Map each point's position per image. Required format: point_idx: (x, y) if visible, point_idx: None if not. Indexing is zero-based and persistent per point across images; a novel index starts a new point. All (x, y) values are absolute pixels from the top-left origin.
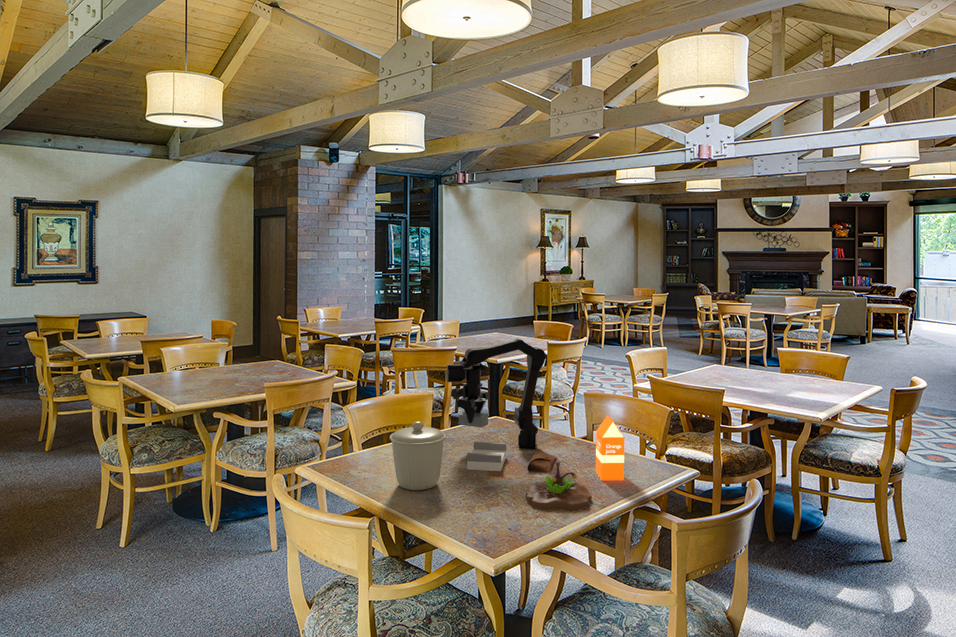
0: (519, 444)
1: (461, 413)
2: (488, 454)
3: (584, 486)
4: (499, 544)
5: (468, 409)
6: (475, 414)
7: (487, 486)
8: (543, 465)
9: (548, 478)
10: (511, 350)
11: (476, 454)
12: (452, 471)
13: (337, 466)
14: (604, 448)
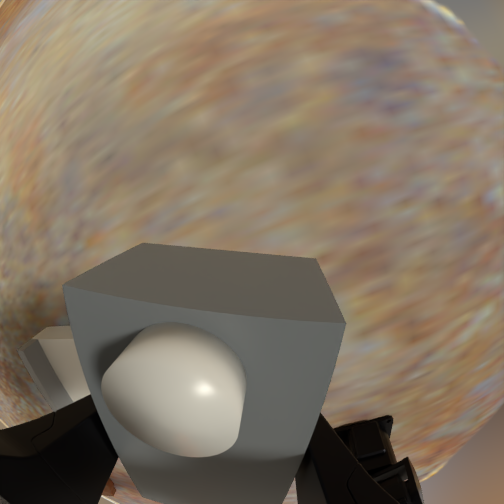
0: (351, 433)
1: (140, 312)
2: (55, 410)
3: (105, 495)
4: None
5: (32, 475)
6: (198, 475)
7: (24, 381)
8: None
9: None
10: None
11: (32, 378)
12: (20, 290)
13: (7, 16)
14: None
